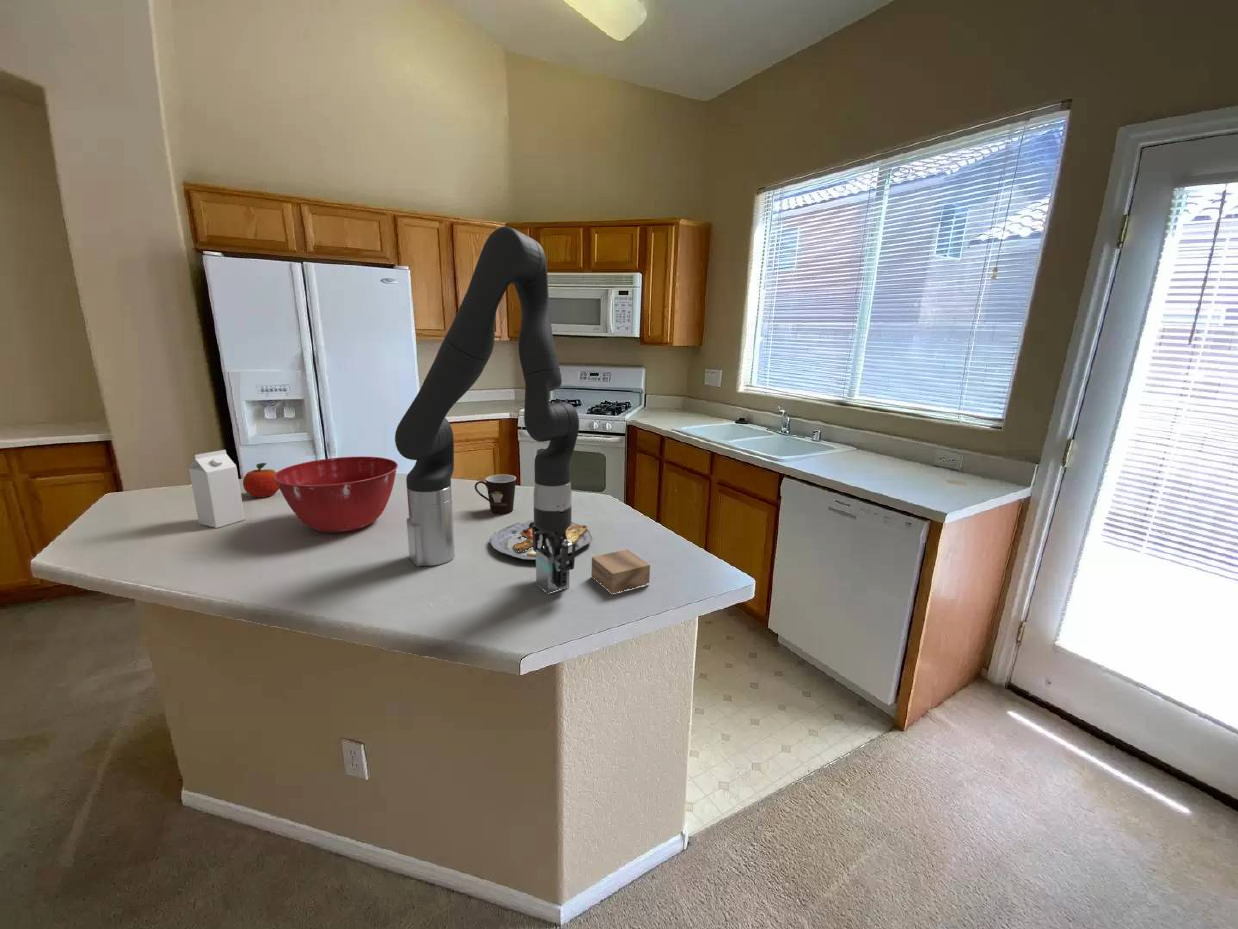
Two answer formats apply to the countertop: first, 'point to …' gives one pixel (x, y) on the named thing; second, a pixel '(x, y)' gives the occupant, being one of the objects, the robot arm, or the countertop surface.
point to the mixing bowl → (338, 491)
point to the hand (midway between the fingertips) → (552, 579)
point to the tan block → (620, 570)
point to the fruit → (260, 482)
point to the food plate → (525, 528)
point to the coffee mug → (500, 493)
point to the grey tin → (547, 571)
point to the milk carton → (216, 489)
